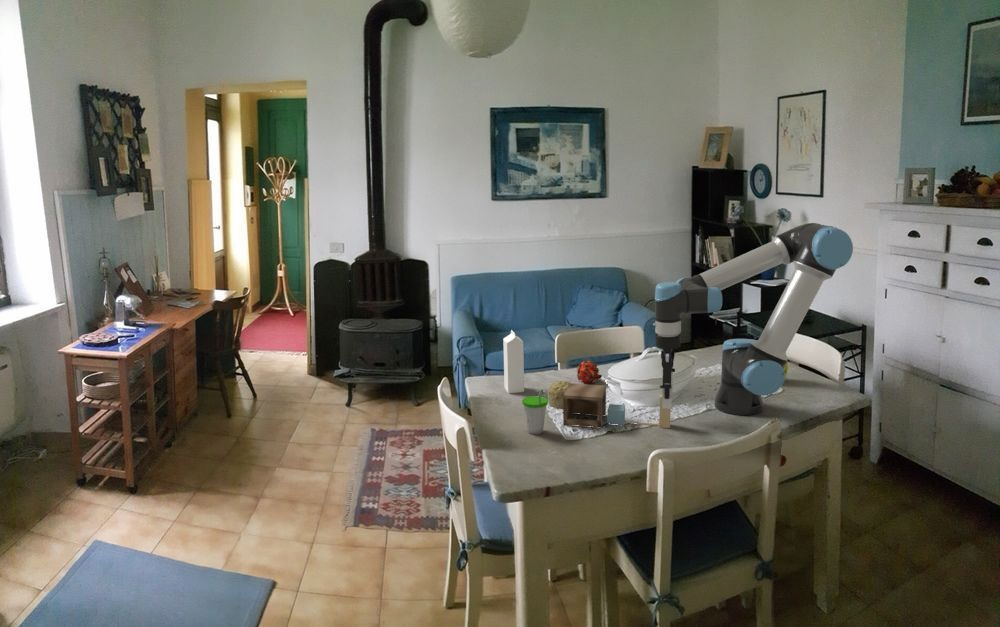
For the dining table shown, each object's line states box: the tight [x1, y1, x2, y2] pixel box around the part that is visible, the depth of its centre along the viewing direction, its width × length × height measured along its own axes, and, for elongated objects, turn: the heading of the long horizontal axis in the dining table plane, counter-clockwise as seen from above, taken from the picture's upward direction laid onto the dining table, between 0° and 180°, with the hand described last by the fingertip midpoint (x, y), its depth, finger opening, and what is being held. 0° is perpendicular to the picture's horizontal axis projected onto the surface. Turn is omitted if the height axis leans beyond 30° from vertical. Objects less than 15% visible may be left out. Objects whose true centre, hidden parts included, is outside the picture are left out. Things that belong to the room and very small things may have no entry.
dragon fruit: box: [576, 360, 603, 385], centre depth 258 cm, size 8×8×12 cm
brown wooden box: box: [562, 382, 607, 428], centre depth 222 cm, size 12×11×10 cm
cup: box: [521, 389, 549, 436], centre depth 213 cm, size 8×8×15 cm
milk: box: [502, 329, 525, 394], centre depth 250 cm, size 6×6×22 cm
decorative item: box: [547, 380, 571, 409], centre depth 237 cm, size 10×10×10 cm
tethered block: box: [606, 393, 672, 429], centre depth 218 cm, size 19×5×10 cm, turn 75°
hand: (667, 400), depth 215 cm, fingers open, 13 cm apart
